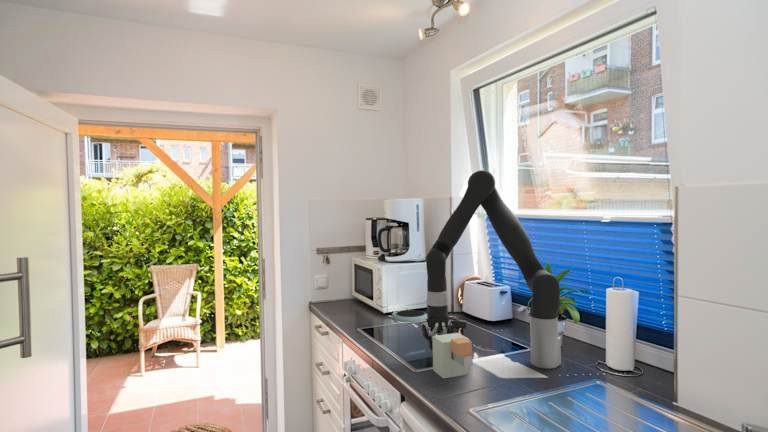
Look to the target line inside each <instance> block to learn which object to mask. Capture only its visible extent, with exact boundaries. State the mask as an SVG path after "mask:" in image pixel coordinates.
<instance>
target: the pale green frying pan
mask: <svg viewBox="0 0 768 432" xmlns="http://www.w3.org/2000/svg"><path fill="white" fill-rule="evenodd" d="M391 318H392V319H393V318H394V319H395V320H394V319H393V320H394V321H395V322H398V321H399V323H406V324H411V323H412V324H415V323H423V322H426V320H425V319H427V318H428V316H427V313H426V312H424V311H422V310H418V309H417V310H416V309H409V310H404V311H398V312H393V313H392V312H391Z"/></svg>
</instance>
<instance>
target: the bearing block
mask: <svg viewBox="0 0 768 432" xmlns="http://www.w3.org/2000/svg"><path fill="white" fill-rule="evenodd" d="M457 338H466V339H468V340H469V341H470V339H469V338H468V337H466V336H465V335H463V334H461V333H459V332H455V333H454V332H453V333H452V334H444V335H441V334H440V335H439V334H437V336H432V340H433V351H432V371H433V372H435V373H436V374H437V375H438V376H439V377H441V378H442V379H447V378H449V379H450V378H455V377H461V376H467V375H471V366H468V367H464V366H462V365H461V364H459V363H458V362H456V361H455V360H453V359H452V358H451V339H457ZM469 355H471V354H469Z"/></svg>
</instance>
